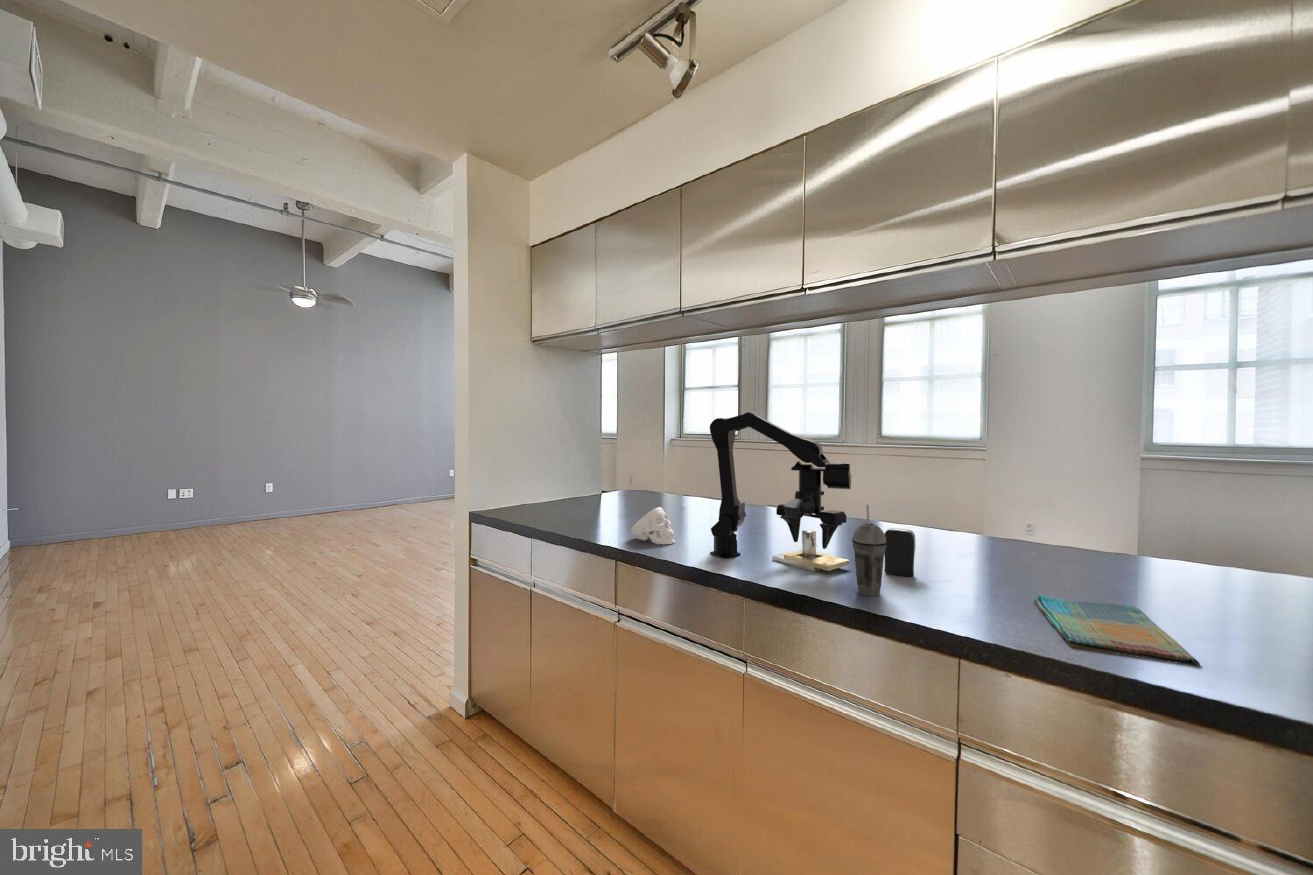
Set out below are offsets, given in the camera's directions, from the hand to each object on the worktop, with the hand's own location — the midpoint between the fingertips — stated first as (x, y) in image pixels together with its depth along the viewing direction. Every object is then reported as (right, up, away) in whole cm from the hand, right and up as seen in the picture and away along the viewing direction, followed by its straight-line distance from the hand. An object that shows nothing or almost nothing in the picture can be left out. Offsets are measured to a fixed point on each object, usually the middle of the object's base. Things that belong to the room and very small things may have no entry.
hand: (809, 545), depth 135 cm
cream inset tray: (0, -5, 0) cm, 5 cm away
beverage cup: (+6, -6, -22) cm, 24 cm away
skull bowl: (-42, -5, +28) cm, 51 cm away
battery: (+20, -6, -9) cm, 23 cm away
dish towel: (+41, -7, -43) cm, 60 cm away
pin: (0, -5, 0) cm, 5 cm away
